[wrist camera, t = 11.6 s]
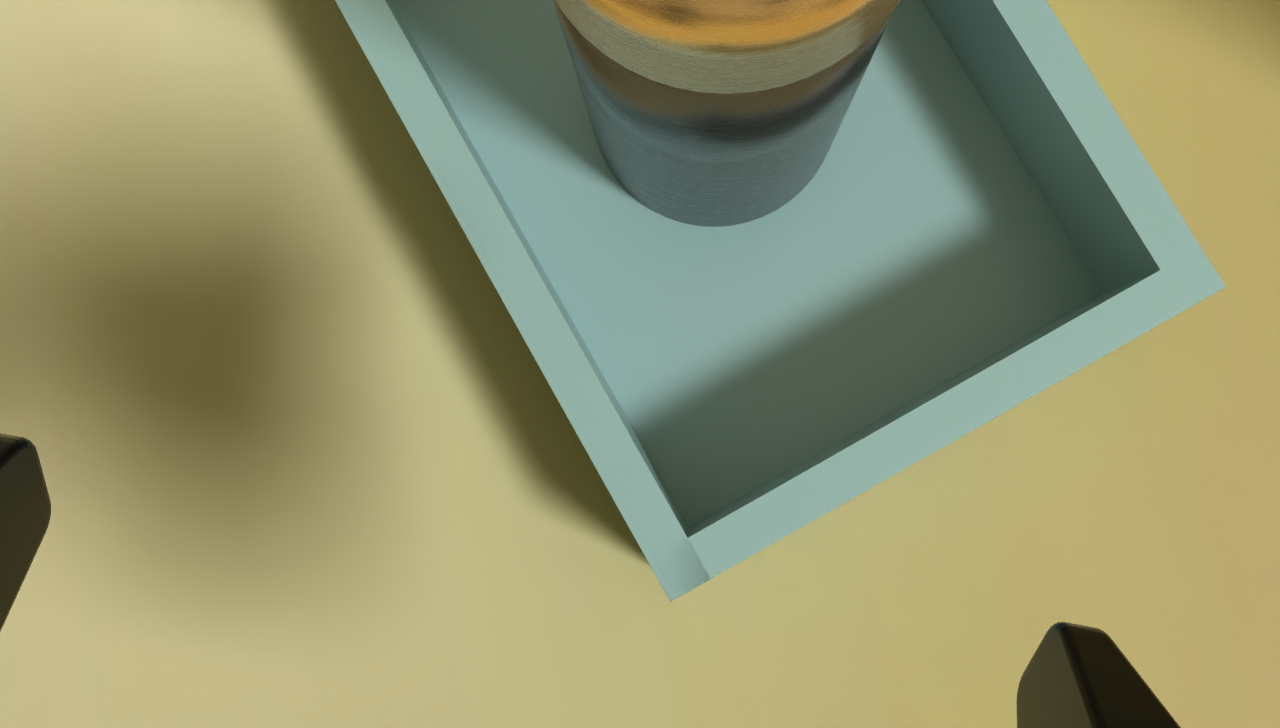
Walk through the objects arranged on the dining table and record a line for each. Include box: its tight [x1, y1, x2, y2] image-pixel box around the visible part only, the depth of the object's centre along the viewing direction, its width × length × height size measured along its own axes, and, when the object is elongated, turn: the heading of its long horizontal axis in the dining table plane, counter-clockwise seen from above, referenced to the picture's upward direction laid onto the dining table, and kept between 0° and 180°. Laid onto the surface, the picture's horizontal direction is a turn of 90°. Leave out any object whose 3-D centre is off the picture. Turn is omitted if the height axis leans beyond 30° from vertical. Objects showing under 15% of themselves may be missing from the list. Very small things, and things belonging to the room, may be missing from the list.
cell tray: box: [335, 0, 1226, 602], centre depth 22 cm, size 16×11×4 cm
